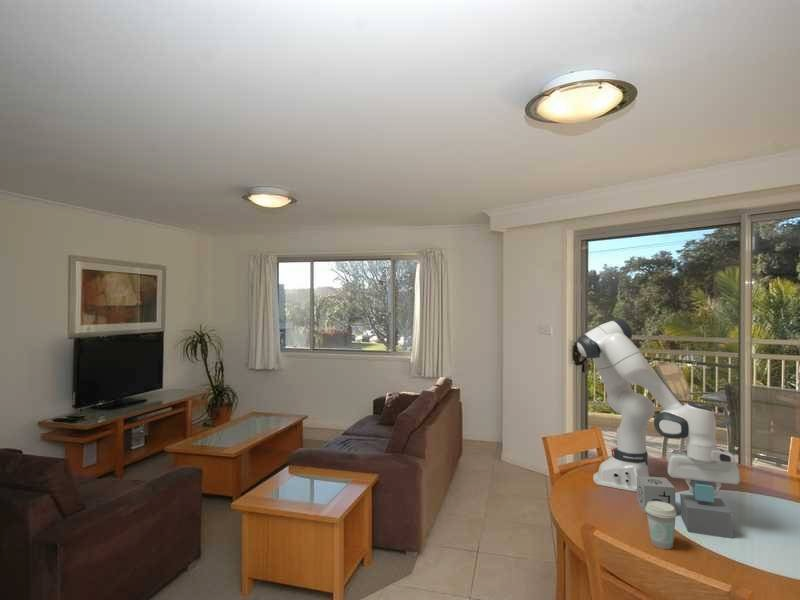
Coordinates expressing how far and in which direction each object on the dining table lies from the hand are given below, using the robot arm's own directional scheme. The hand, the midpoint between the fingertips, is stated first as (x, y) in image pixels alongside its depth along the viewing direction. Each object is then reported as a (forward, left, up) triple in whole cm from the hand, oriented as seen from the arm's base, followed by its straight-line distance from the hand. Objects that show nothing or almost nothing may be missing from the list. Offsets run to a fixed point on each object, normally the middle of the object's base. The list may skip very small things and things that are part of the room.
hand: (703, 493), depth 150 cm
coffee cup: (-15, -18, -11) cm, 26 cm away
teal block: (0, 0, -2) cm, 2 cm away
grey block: (0, 0, -11) cm, 11 cm away
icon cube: (-13, +10, -11) cm, 20 cm away
